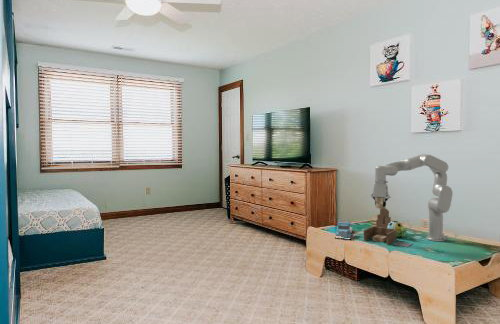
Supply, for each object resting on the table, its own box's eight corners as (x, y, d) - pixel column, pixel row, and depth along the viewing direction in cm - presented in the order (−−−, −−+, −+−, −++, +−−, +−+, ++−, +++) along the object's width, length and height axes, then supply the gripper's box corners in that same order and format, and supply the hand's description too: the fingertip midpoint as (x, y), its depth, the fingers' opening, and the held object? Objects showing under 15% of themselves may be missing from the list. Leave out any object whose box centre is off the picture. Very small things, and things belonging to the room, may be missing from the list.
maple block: (385, 207, 272) (385, 197, 271) (382, 208, 268) (382, 198, 267) (378, 207, 275) (378, 196, 274) (375, 208, 271) (375, 197, 271)
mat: (412, 244, 262) (412, 243, 262) (407, 247, 254) (407, 246, 254) (398, 241, 269) (398, 241, 269) (393, 244, 261) (393, 244, 261)
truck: (334, 239, 279) (334, 220, 278) (337, 230, 306) (337, 213, 306) (351, 240, 275) (351, 221, 274) (352, 231, 303) (352, 213, 302)
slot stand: (396, 240, 274) (396, 229, 273) (387, 245, 261) (388, 234, 260) (373, 235, 286) (373, 226, 285) (363, 240, 273) (363, 230, 273)
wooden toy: (395, 232, 297) (395, 202, 295) (391, 233, 292) (391, 203, 291) (378, 228, 308) (378, 200, 307) (374, 230, 304) (374, 200, 303)
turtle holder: (398, 240, 272) (398, 225, 271) (383, 234, 289) (383, 220, 289) (412, 239, 275) (412, 224, 274) (396, 233, 292) (397, 219, 292)
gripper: (393, 182, 267) (393, 206, 268) (371, 181, 279) (371, 204, 280) (390, 183, 262) (389, 208, 263) (367, 182, 273) (367, 205, 274)
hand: (380, 206), depth 271 cm, fingers closed on maple block, 5 cm apart
